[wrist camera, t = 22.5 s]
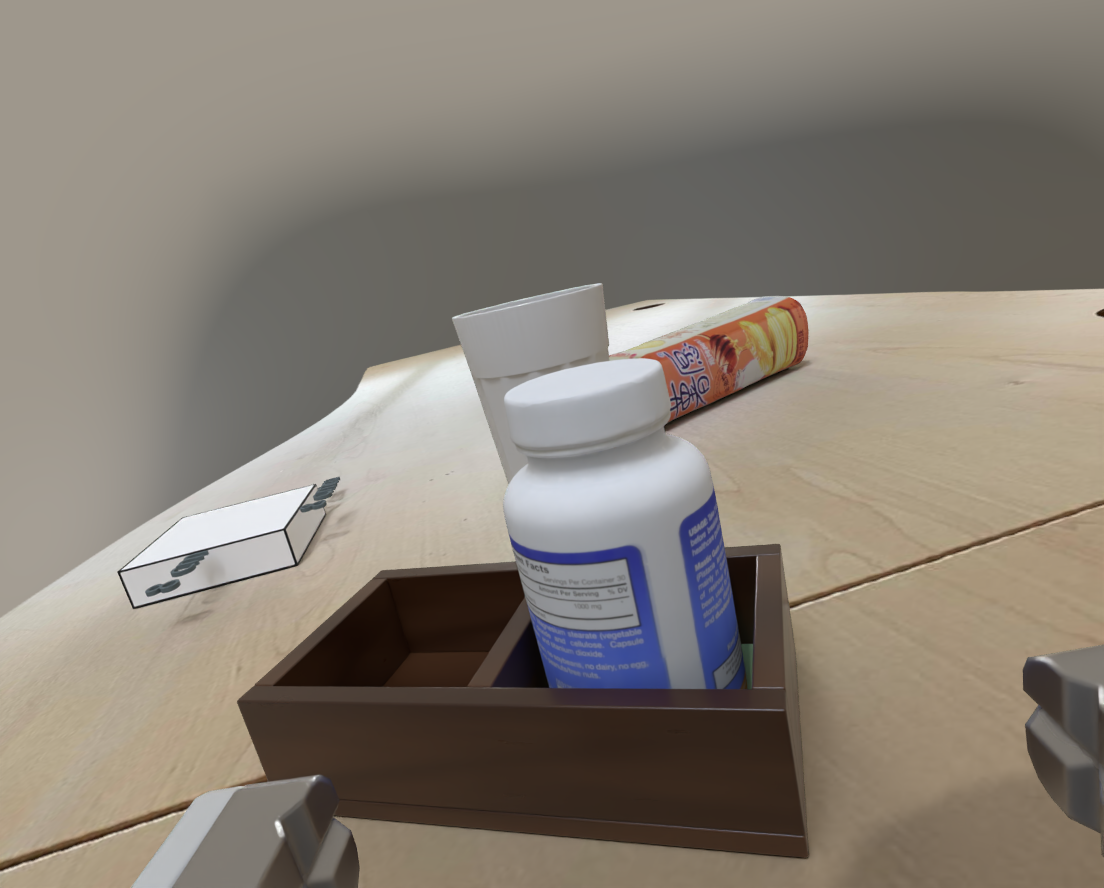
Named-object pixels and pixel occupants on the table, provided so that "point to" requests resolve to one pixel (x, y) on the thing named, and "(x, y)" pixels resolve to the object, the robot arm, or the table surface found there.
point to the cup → (529, 350)
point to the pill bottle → (618, 535)
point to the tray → (536, 720)
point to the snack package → (727, 351)
